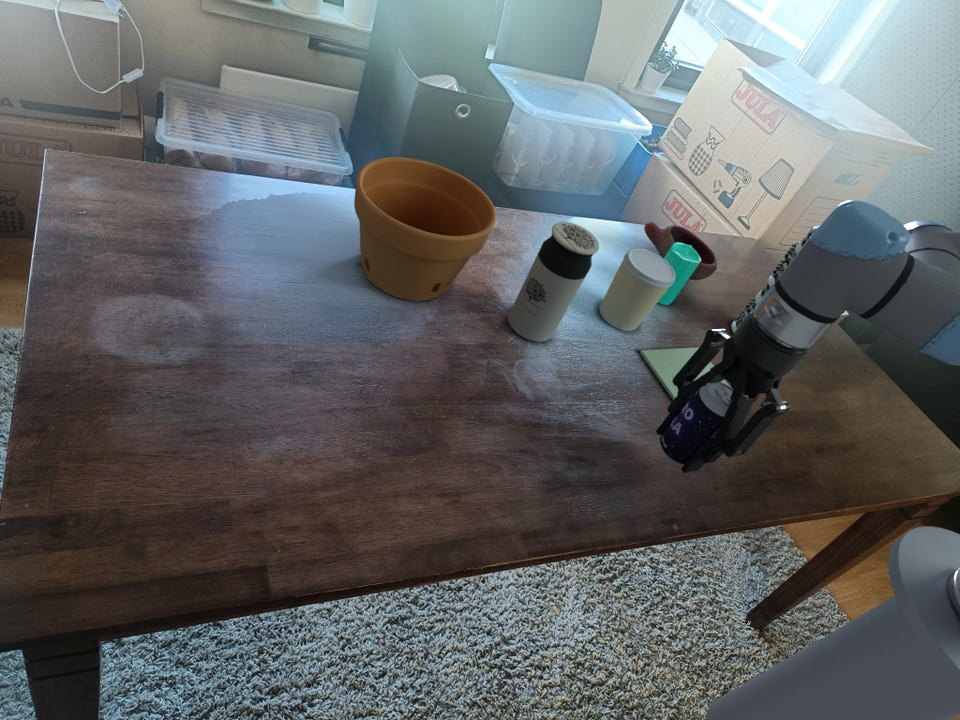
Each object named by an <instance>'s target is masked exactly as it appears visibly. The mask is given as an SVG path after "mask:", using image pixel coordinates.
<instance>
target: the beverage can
mask: <svg viewBox="0 0 960 720" xmlns="http://www.w3.org/2000/svg"><path fill="white" fill-rule="evenodd" d="M728 385H729V384H728ZM728 385H726V384H724V383H722V382H717V383H707V384H706V385H705V386H702V387H700V388H699V389H698V390H697V392H696V393H695V394H694V395H693V397H692V398H691V399H690V400H689V402H688V403H687V404H686V405H685V407H684V408H683V409H682V410H681V411H680V413H679V414H678V415H677V416H676V418H675V419H674V420H673V421H672V423H671V424H670V425H669V426H668V428H667V429H666V430H665V431H664V432H663V434H662V435H660V437H659V443H660V446H661V450H662V453H663V454H664V456H666V458H667V459H668V460H670V461H671V462H673V463H675V464H678V465H684V464H685V463H686V462H687V461H688V460H689V459H690V457H691V456H692V455H693V454H694V453H695V452H696V451H697V450H698V449H699V447H700V446H701V445H702V444H703V443H704V442H705V441H706V440H707V439H711V438H715V436H716V434H717V432H718V429H719V427H720V425H721V423H722V420H723V418H724V416H725V414H726V412H727V409H728V407H729V405H730V403H731V399H730V397H731V394H732V392H733V389H732V387H731V386H730V385H729V386H730V387H729V386H728Z"/></svg>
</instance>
